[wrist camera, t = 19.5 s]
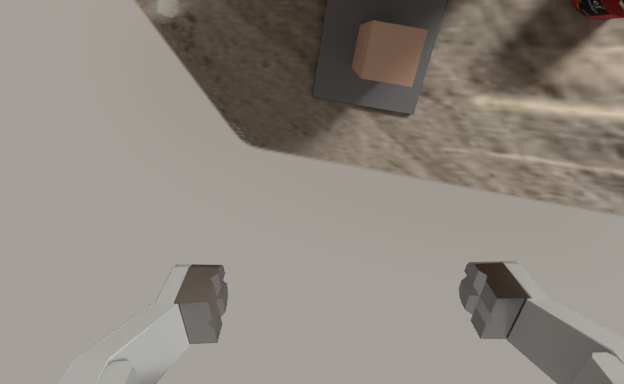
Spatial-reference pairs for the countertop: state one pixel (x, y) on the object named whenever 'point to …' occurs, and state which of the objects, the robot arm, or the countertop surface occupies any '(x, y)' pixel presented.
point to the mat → (342, 41)
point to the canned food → (600, 8)
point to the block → (388, 52)
